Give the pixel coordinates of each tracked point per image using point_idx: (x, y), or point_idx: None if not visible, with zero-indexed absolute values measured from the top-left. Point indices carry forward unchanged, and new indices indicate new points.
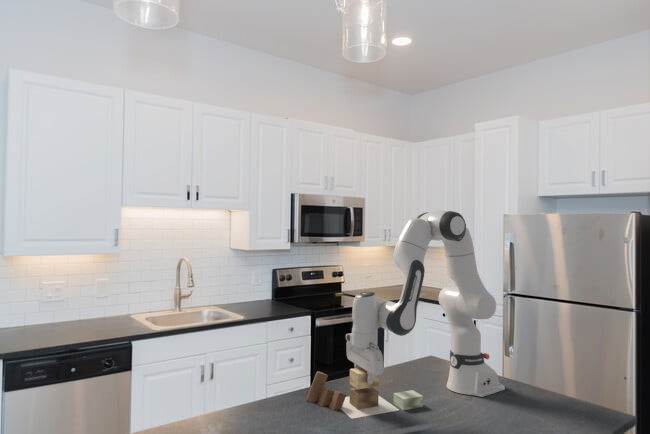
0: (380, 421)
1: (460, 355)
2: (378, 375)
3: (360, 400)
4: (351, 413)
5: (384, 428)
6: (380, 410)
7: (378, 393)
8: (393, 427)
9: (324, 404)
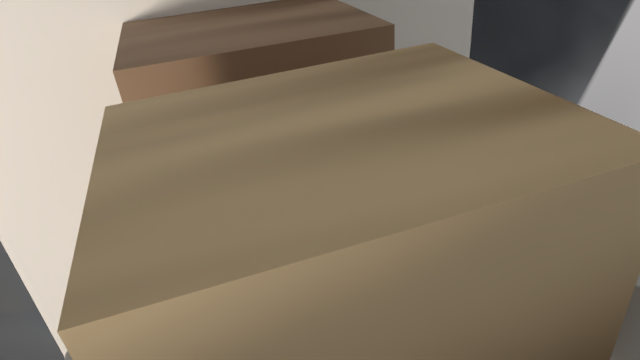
0: (507, 65)
1: None
2: (573, 108)
3: None
4: None
5: (592, 77)
6: (420, 16)
7: (380, 18)
8: (616, 8)
9: None
